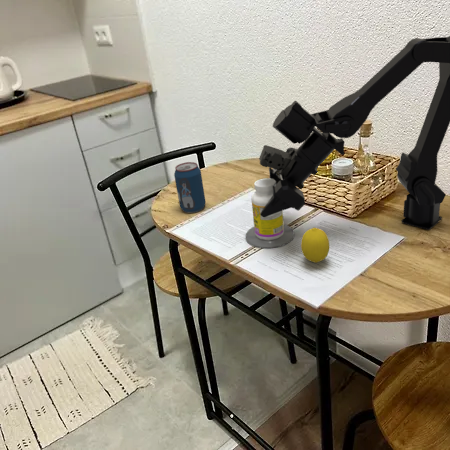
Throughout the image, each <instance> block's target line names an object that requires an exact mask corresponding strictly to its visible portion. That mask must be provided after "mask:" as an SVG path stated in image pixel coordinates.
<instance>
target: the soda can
mask: <svg viewBox="0 0 450 450" xmlns="http://www.w3.org/2000/svg"><path fill="white" fill-rule="evenodd" d="M174 168H175V170H174V174H173V176H174V181H175V188H176V192H177V198H178V204H179V208H180V209H181V210H182V211H183V212H184V213H187V214H188V213H189V214H192V213H193V214H194V213H197V212H198V213H199V212H201V211H202V210H204V207H205V206H206V197H205V196H206V195H205V191H204V184H203V177H202V176H203V175H202V171H201V168H200V167H199V165H198V163H197V162H193V161H188V162H183V163H179V164H177V165H176V166H175V167H174Z"/></svg>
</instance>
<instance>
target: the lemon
mask: <svg viewBox="0 0 450 450" xmlns="http://www.w3.org/2000/svg"><path fill="white" fill-rule="evenodd" d="M300 243H301V244H300V246H301V252H302V255H303V256H304V258H306V260H307V261H308V262H309V261H310V262H312V263H314V264H317V263H319V262H322V261H324V260H325V258H326V257H327V256H328V254H329V251H330V240H329V238H328V235H327V233H326V232H325V231H324V230H323V229H320V228H317V227H312V228H309V229H307V230H306V231H305V232H304V234H303V235H302V238H301V242H300Z"/></svg>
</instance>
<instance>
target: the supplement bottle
mask: <svg viewBox="0 0 450 450" xmlns="http://www.w3.org/2000/svg"><path fill="white" fill-rule="evenodd" d="M253 186H254V190H255V192H253V194H252V195H251V207H252V209H251V210H252V216H253V217H252V218H253V227H254V229H255V234H256V236H257V237H258V238H260V239H262V240H274V239H277V238H279V237H281V236H282V235H283V233H284V223H285V222H284V214H283V213H284V210H283V211H280V212H277V213H274V214H272V215H269V216H267V217H262V216H261V215H260V214H261V212H262V210H263V209H264V207H265V206H266V204H267V203H268V202H269V200H270V199H271V197H272V196H273V189H272V186H274V187H275V186H276V181H275V180H274V179H270V177H267V178H261V179H257V180H256V181H255V182H254V185H253Z"/></svg>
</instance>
